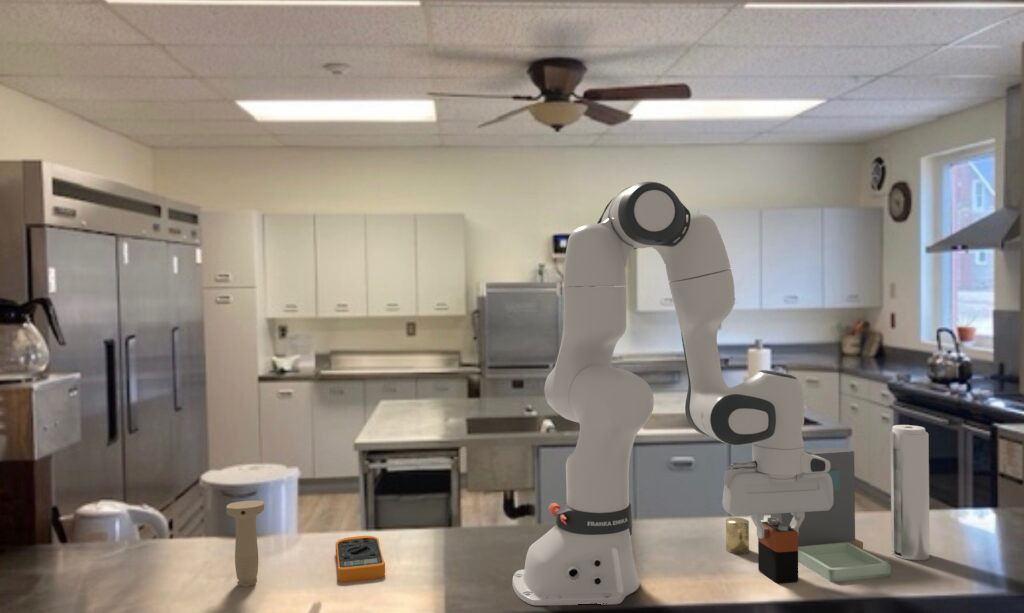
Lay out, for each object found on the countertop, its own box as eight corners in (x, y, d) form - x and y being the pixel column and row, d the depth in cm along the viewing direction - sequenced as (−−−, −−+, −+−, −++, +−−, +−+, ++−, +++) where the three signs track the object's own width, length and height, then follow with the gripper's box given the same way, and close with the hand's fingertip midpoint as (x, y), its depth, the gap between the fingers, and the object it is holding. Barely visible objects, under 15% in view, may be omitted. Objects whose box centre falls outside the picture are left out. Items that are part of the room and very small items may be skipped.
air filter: (934, 561, 138) (933, 430, 138) (897, 559, 140) (896, 429, 139) (922, 549, 145) (921, 423, 144) (887, 548, 146) (886, 423, 146)
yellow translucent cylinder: (732, 555, 144) (732, 525, 144) (722, 548, 148) (721, 518, 148) (753, 553, 144) (753, 523, 144) (742, 546, 149) (742, 516, 149)
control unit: (780, 557, 142) (778, 457, 142) (763, 547, 148) (762, 451, 147) (863, 549, 145) (861, 452, 145) (843, 540, 151) (842, 445, 151)
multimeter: (377, 549, 152) (377, 533, 152) (386, 582, 135) (385, 563, 135) (335, 554, 150) (335, 537, 150) (338, 587, 132) (337, 569, 132)
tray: (830, 582, 130) (830, 570, 130) (792, 558, 141) (792, 547, 141) (890, 576, 132) (890, 564, 132) (848, 553, 144) (848, 542, 144)
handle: (263, 590, 131) (261, 507, 131) (226, 593, 130) (223, 509, 130) (267, 580, 136) (265, 499, 135) (231, 583, 135) (229, 502, 134)
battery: (778, 569, 136) (778, 515, 136) (799, 582, 129) (799, 526, 129) (757, 570, 135) (756, 516, 135) (777, 584, 129) (776, 528, 129)
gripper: (732, 466, 127) (732, 546, 127) (838, 461, 131) (838, 538, 131) (716, 459, 133) (716, 534, 134) (817, 454, 137) (817, 528, 137)
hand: (777, 536), depth 132 cm, fingers open, 4 cm apart
